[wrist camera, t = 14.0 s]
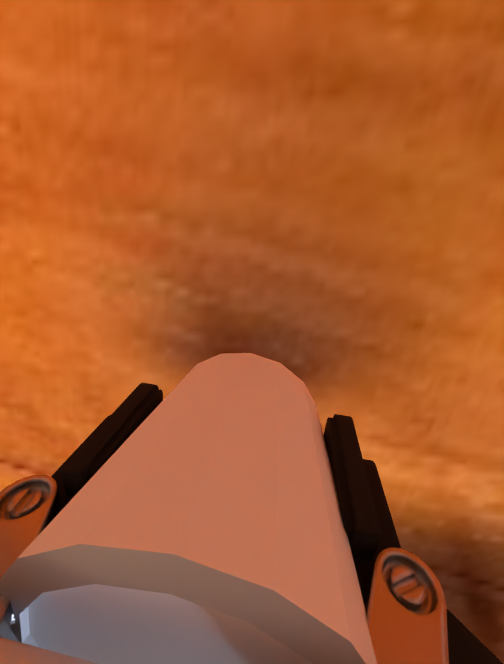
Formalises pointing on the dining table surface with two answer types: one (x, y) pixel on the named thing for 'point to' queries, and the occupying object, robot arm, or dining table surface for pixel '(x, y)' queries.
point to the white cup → (202, 537)
